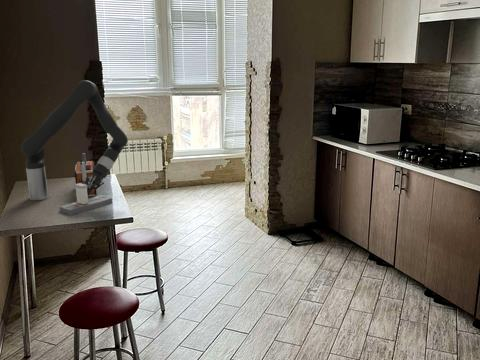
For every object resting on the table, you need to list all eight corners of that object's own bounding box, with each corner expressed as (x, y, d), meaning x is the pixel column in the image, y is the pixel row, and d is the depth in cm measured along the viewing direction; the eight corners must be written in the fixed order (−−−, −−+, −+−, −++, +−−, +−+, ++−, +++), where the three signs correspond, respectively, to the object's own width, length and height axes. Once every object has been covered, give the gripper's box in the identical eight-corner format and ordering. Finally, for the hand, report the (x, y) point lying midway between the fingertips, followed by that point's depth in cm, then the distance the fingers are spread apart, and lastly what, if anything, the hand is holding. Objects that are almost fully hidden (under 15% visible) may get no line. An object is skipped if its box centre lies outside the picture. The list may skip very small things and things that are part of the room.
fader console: (71, 215, 219) (70, 209, 218) (59, 211, 225) (59, 206, 224) (112, 202, 237) (111, 198, 237) (100, 199, 243) (100, 195, 243)
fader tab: (83, 204, 226) (81, 186, 224) (76, 202, 230) (74, 184, 227) (88, 202, 228) (87, 184, 226) (81, 200, 232) (80, 183, 230)
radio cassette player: (97, 197, 248) (93, 161, 242) (76, 199, 244) (72, 163, 239) (96, 184, 275) (93, 152, 270) (78, 186, 272) (74, 153, 267)
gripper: (91, 161, 237) (72, 189, 231) (106, 164, 230) (88, 193, 223) (100, 169, 243) (82, 196, 236) (116, 172, 235) (98, 201, 229)
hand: (85, 195), depth 230 cm, fingers closed
